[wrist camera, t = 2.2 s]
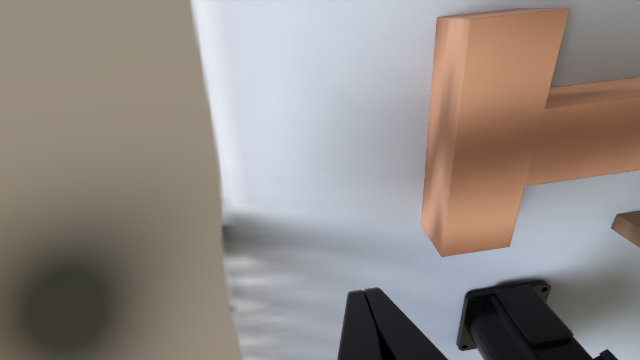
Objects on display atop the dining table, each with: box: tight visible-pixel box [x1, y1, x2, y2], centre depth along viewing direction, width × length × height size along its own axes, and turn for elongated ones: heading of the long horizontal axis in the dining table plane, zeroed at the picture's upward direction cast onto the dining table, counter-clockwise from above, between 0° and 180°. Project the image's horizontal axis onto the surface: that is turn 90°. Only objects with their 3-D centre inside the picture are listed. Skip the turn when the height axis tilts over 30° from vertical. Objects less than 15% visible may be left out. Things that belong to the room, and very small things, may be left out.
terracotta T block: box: [421, 9, 640, 257], centre depth 17 cm, size 12×12×3 cm
